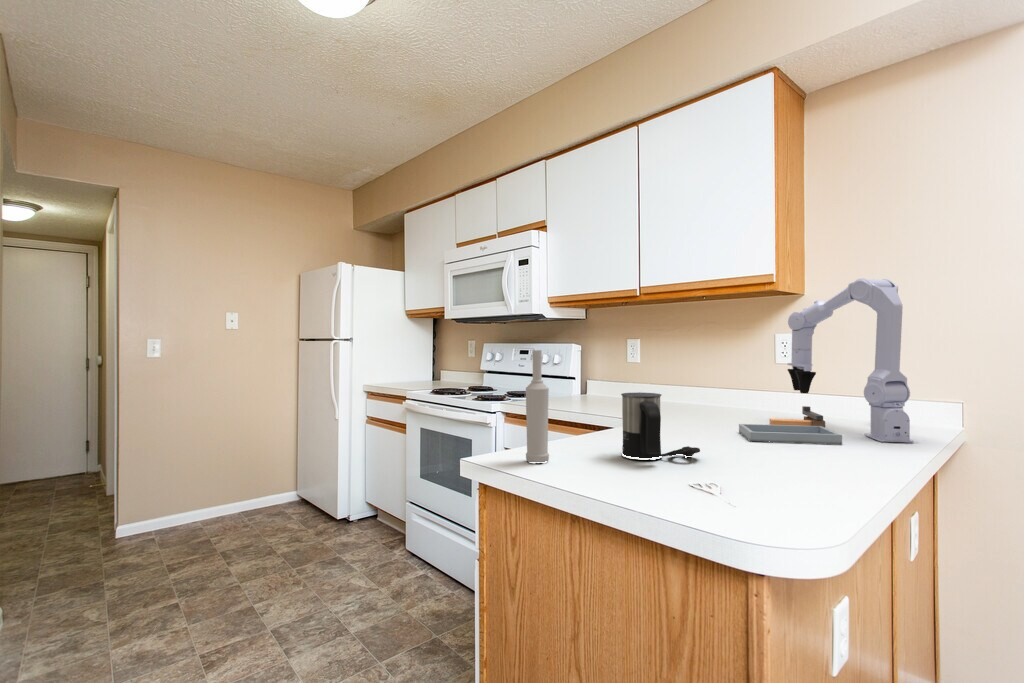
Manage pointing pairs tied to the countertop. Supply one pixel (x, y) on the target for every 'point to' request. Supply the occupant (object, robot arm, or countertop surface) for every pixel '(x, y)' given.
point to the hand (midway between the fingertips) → (800, 391)
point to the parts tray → (789, 433)
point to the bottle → (537, 414)
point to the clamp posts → (815, 421)
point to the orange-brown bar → (790, 422)
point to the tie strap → (811, 413)
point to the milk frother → (644, 427)
